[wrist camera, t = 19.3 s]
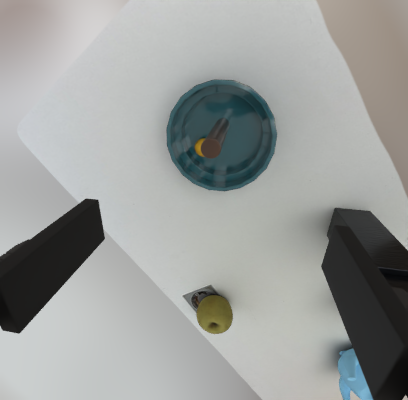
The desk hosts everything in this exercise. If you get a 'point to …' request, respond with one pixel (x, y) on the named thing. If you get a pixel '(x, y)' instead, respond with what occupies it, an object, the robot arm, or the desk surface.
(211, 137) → the stick
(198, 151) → the ball
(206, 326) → the apple
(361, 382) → the teapot
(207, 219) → the desk surface
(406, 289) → the holder
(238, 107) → the bowl
